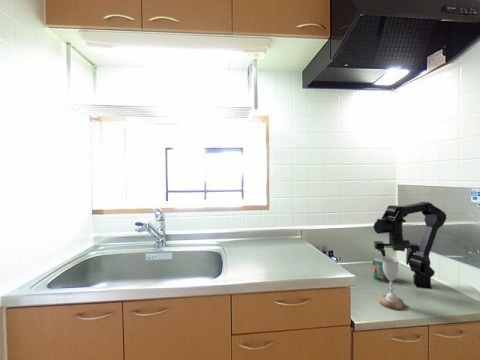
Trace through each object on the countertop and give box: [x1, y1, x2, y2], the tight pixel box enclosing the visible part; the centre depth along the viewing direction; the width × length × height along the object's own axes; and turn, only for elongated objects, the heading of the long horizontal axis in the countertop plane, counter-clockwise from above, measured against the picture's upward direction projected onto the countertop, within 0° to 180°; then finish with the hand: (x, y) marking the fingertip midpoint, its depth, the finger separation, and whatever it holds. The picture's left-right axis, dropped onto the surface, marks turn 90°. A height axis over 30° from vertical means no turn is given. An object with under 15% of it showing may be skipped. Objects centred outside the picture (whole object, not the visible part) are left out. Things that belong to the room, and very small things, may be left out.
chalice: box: [381, 255, 400, 302], centre depth 116 cm, size 7×7×18 cm
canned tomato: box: [372, 256, 390, 284], centre depth 143 cm, size 8×8×11 cm
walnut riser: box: [379, 294, 404, 311], centre depth 116 cm, size 9×9×2 cm
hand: (396, 263), depth 129 cm, fingers open, 9 cm apart
